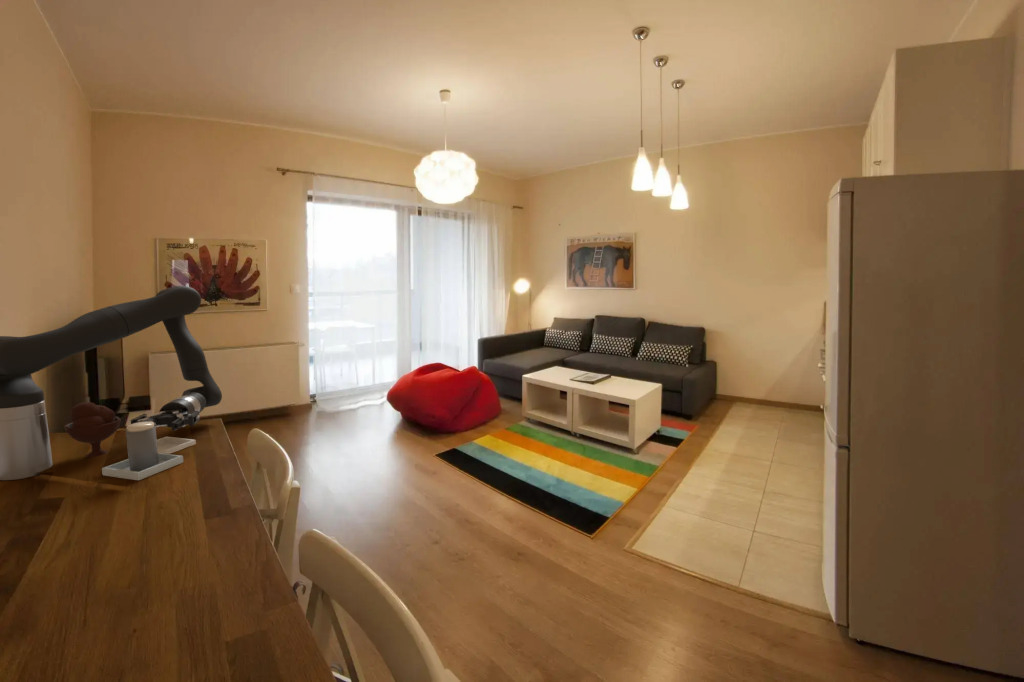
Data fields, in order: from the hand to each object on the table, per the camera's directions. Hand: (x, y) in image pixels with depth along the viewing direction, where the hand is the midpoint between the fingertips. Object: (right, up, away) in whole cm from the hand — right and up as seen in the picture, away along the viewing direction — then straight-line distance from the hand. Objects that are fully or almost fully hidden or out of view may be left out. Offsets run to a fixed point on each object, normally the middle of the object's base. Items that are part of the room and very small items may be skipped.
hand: (153, 428), depth 116 cm
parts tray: (-4, -8, +8) cm, 12 cm away
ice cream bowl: (-18, -9, +4) cm, 21 cm away
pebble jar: (+2, -9, -5) cm, 10 cm away
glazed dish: (+2, -10, -5) cm, 11 cm away
